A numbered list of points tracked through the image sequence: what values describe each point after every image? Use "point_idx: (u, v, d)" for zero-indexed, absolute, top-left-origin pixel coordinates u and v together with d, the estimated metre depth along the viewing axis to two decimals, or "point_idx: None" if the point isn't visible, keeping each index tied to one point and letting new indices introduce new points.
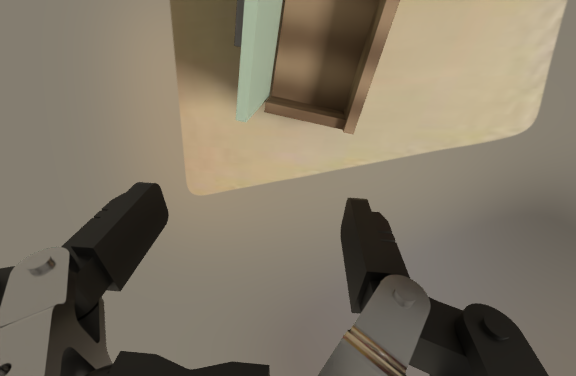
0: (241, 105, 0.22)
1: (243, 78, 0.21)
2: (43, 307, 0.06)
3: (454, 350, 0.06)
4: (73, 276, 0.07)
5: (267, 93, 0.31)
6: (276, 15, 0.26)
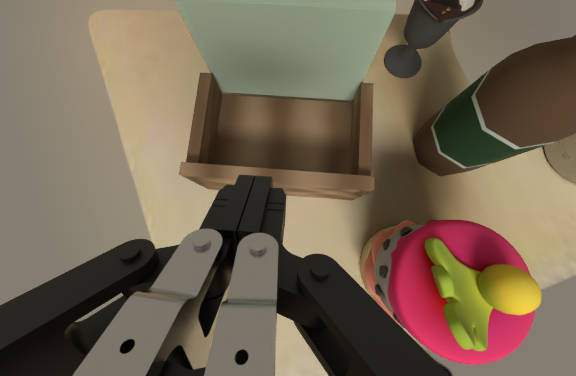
0: None
1: None
2: (183, 289, 0.06)
3: (289, 290, 0.07)
4: (215, 267, 0.07)
5: (222, 84, 0.28)
6: (295, 82, 0.26)
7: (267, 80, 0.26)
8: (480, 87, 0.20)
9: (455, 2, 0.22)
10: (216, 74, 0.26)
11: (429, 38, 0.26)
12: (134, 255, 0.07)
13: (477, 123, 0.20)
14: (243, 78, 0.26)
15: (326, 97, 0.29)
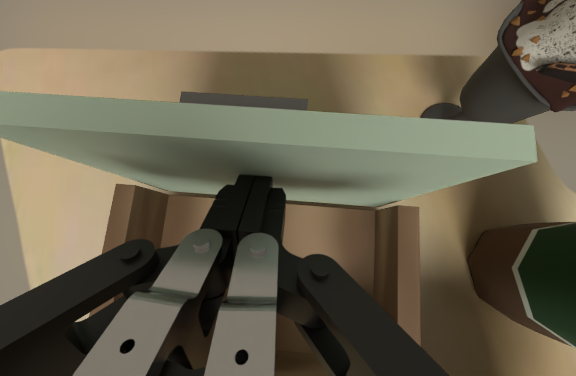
0: (4, 105, 0.07)
1: (83, 110, 0.07)
2: (183, 289, 0.06)
3: (289, 290, 0.07)
4: (215, 267, 0.07)
5: (164, 187, 0.17)
6: None
7: None
8: None
9: None
10: (147, 182, 0.15)
11: (512, 119, 0.15)
12: (134, 255, 0.07)
13: None
14: (194, 187, 0.16)
15: (334, 203, 0.18)
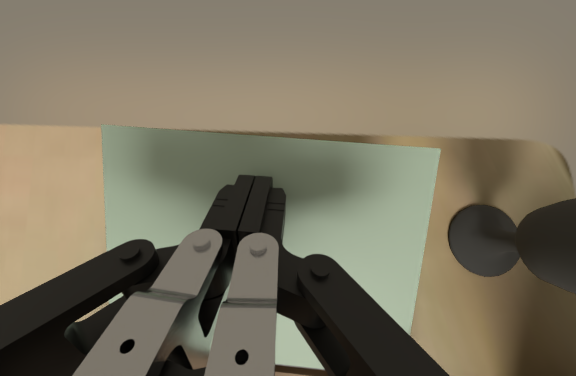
0: None
1: None
2: (183, 289, 0.06)
3: (290, 290, 0.07)
4: (215, 267, 0.07)
5: None
6: None
7: None
8: None
9: None
10: None
11: None
12: (134, 255, 0.07)
13: None
14: None
15: None
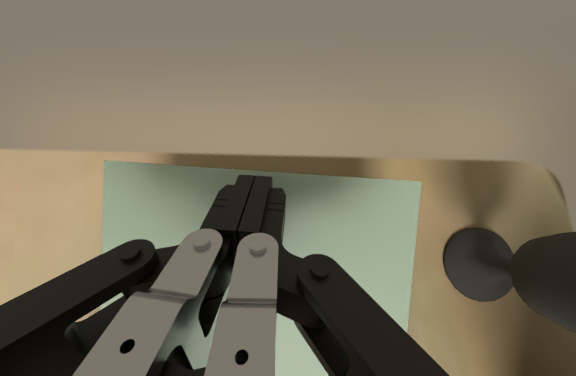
0: None
1: None
2: (183, 289, 0.06)
3: (290, 290, 0.07)
4: (215, 267, 0.07)
5: None
6: None
7: None
8: None
9: None
10: None
11: None
12: (134, 255, 0.07)
13: None
14: None
15: None
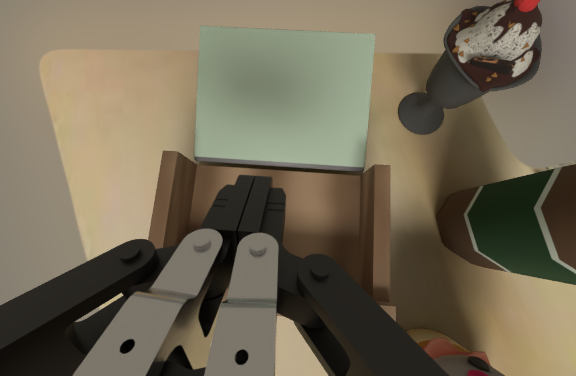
0: None
1: None
2: (183, 289, 0.06)
3: (289, 290, 0.07)
4: (215, 267, 0.07)
5: (202, 138, 0.23)
6: (290, 131, 0.23)
7: (258, 128, 0.23)
8: (548, 198, 0.14)
9: (507, 69, 0.16)
10: (201, 119, 0.23)
11: (461, 101, 0.20)
12: (134, 255, 0.07)
13: (543, 246, 0.14)
14: (230, 126, 0.23)
15: (328, 161, 0.23)
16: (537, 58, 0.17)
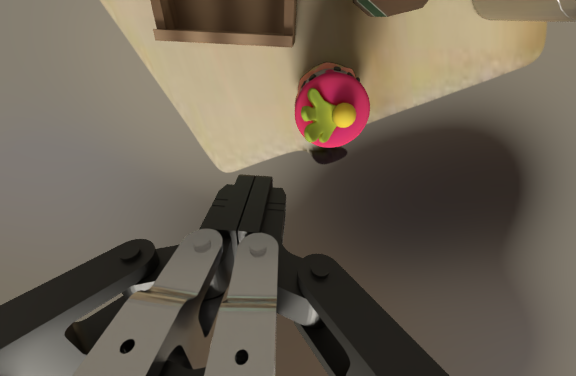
0: None
1: None
2: (183, 289, 0.06)
3: (289, 290, 0.07)
4: (215, 267, 0.07)
5: None
6: None
7: None
8: None
9: None
10: None
11: None
12: (134, 255, 0.07)
13: None
14: None
15: None
16: None
